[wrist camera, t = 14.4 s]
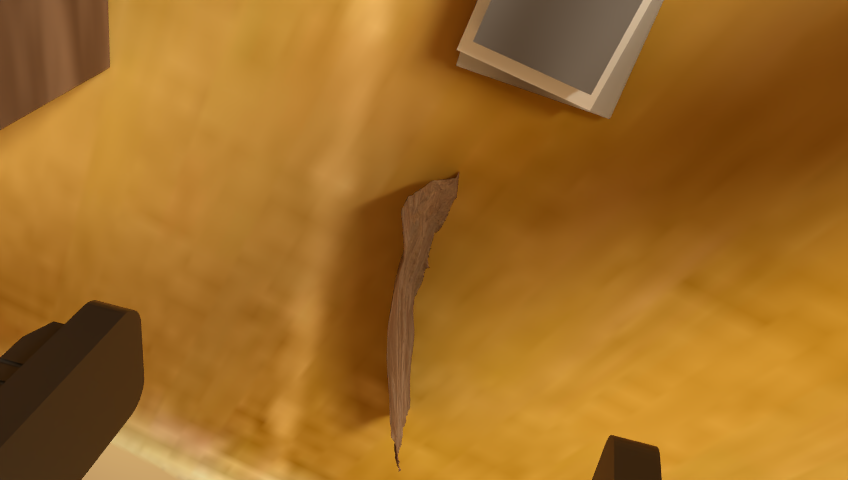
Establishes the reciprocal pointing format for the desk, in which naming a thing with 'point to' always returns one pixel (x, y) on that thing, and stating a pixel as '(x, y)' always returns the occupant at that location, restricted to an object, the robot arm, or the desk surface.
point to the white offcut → (536, 76)
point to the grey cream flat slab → (613, 84)
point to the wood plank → (412, 291)
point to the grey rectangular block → (558, 35)
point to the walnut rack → (48, 51)
